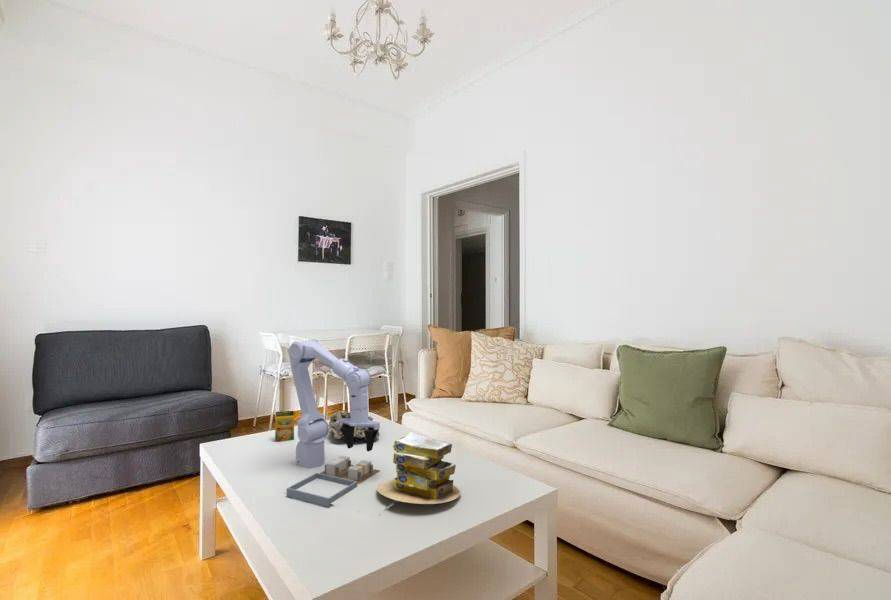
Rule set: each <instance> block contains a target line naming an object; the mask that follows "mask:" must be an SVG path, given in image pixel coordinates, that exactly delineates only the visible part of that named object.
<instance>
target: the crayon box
mask: <svg viewBox="0 0 891 600" xmlns="http://www.w3.org/2000/svg"><path fill="white" fill-rule="evenodd" d="M284 413H286V414H284ZM294 414H295V410H284V411H276V412H275V421H274V423H275V425H274V426H275V429H274V432H275V433H274V435H275V436H274V437H275V438H274V441H275V442H284V441H294V440H295V415H294Z"/></svg>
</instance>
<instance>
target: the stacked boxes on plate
mask: <svg viewBox="0 0 891 600" xmlns="http://www.w3.org/2000/svg"><path fill="white" fill-rule="evenodd" d="M393 443H394V444H393V446H392V448H393V451H394V453H393V464H395V470H396V471H395V472H396V474H397V475H396V477H394V478H389V479H386V480H382V481H380V482H379V483H377V485H376V491H377V492H378V493H379V494H380V495H382V496H384V497H385V498H388V499H391V500H394V501H398V502H403V503H408V504H419V505H435V504H443V503H448V502H451V501H454V500H456V499H458V498H459V497H460V496H461V491H460V489H459V488H458V487H456V486H455V485H454V479H450V476H452V475H454V474H455V471H456V467H457V465H456V464H455V463H452V462H448V461H444V460H443V459H444V457H445V456H446V455H448V454H450V453H452V448H453V444H452V443H451V441H449V442H447V441H446V440H437V439H433V438H432V439H431V438H428V437H426V436H423V435H420V434H418V433H416V432H414V431H410V432H409V433H408V434H407V435H406V436H403V437H401V438H399V439H398V438H397V439H396V440H394V442H393ZM395 451H396V452H395Z"/></svg>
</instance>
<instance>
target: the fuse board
mask: <svg viewBox="0 0 891 600" xmlns="http://www.w3.org/2000/svg"><path fill="white" fill-rule="evenodd" d="M358 463H360V461H359V462H358ZM355 465H356V464H352V460H351V459H350V460H349V461H348V468H349V467H351V466H352V467H353V466H355ZM348 468H347V469H346V468H345V469H344V470H342V471H340V472H339V467H336V475H330V476H334V477H339V478H343V479H348ZM380 472H381V470H379V469H376V468H374V464H372V463H371V465H370V473H367V474H365V475H364V476H362V477H361V471H359V472H358V480H352V479H348V480H352V481H357V485H361V484H362V483H364V482H365V481H367V480H368V479H370V478H371V477H373V476H375V475H376V474H377V473H380ZM320 473H321V474H325V475H329V474H326V464H324V470H323V471H321V472H320Z"/></svg>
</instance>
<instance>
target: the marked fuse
mask: <svg viewBox="0 0 891 600" xmlns="http://www.w3.org/2000/svg"><path fill="white" fill-rule="evenodd" d="M359 462H360V463H359ZM359 462H358V463H356V464H354V465H355V466H353V467H352V466H351V467H349V468H348V479H352V480H358V472H359V471H361V477H362V476H364V475H365V474H367V473H370V465H371V464H372V461H371V460H366V459H362V460H360V461H359Z"/></svg>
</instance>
